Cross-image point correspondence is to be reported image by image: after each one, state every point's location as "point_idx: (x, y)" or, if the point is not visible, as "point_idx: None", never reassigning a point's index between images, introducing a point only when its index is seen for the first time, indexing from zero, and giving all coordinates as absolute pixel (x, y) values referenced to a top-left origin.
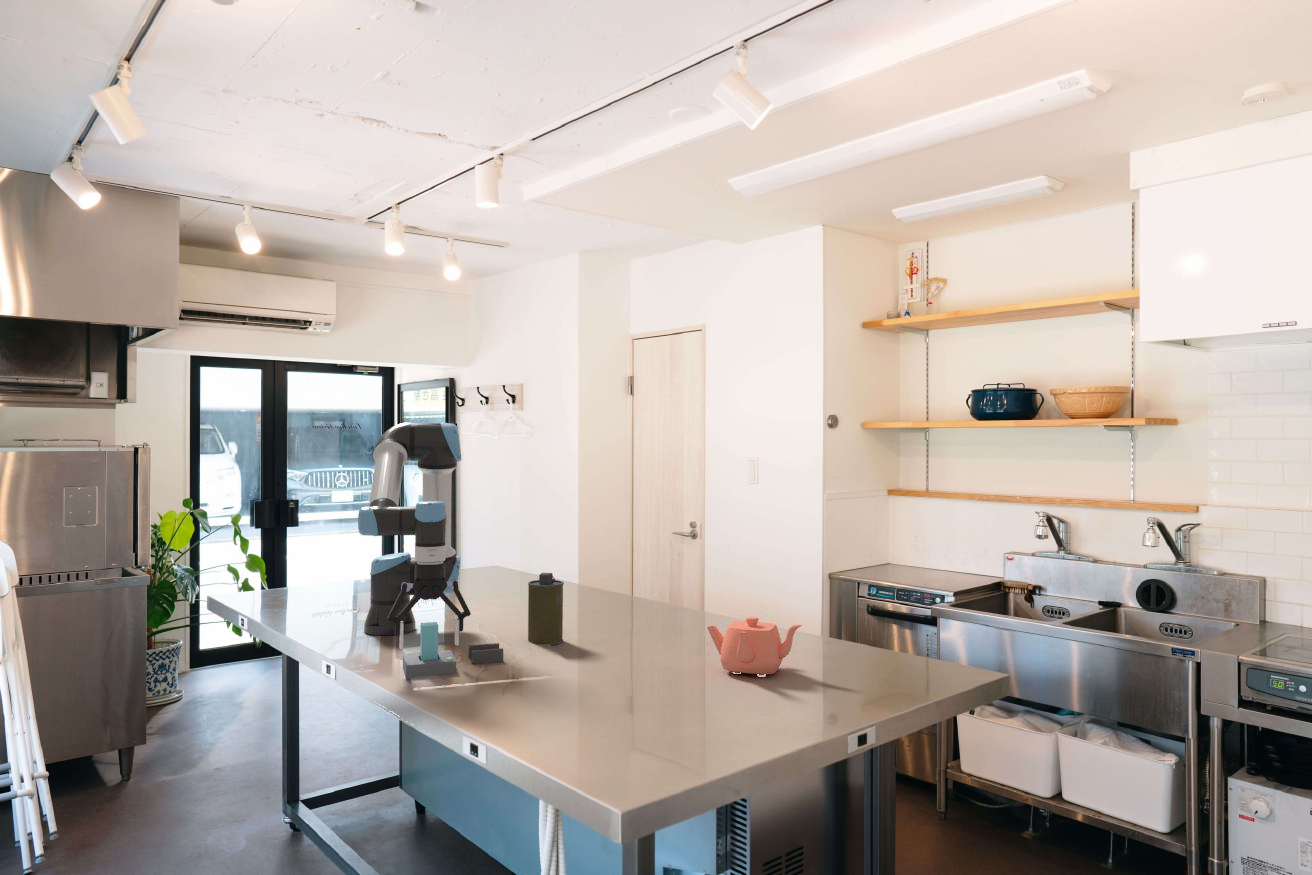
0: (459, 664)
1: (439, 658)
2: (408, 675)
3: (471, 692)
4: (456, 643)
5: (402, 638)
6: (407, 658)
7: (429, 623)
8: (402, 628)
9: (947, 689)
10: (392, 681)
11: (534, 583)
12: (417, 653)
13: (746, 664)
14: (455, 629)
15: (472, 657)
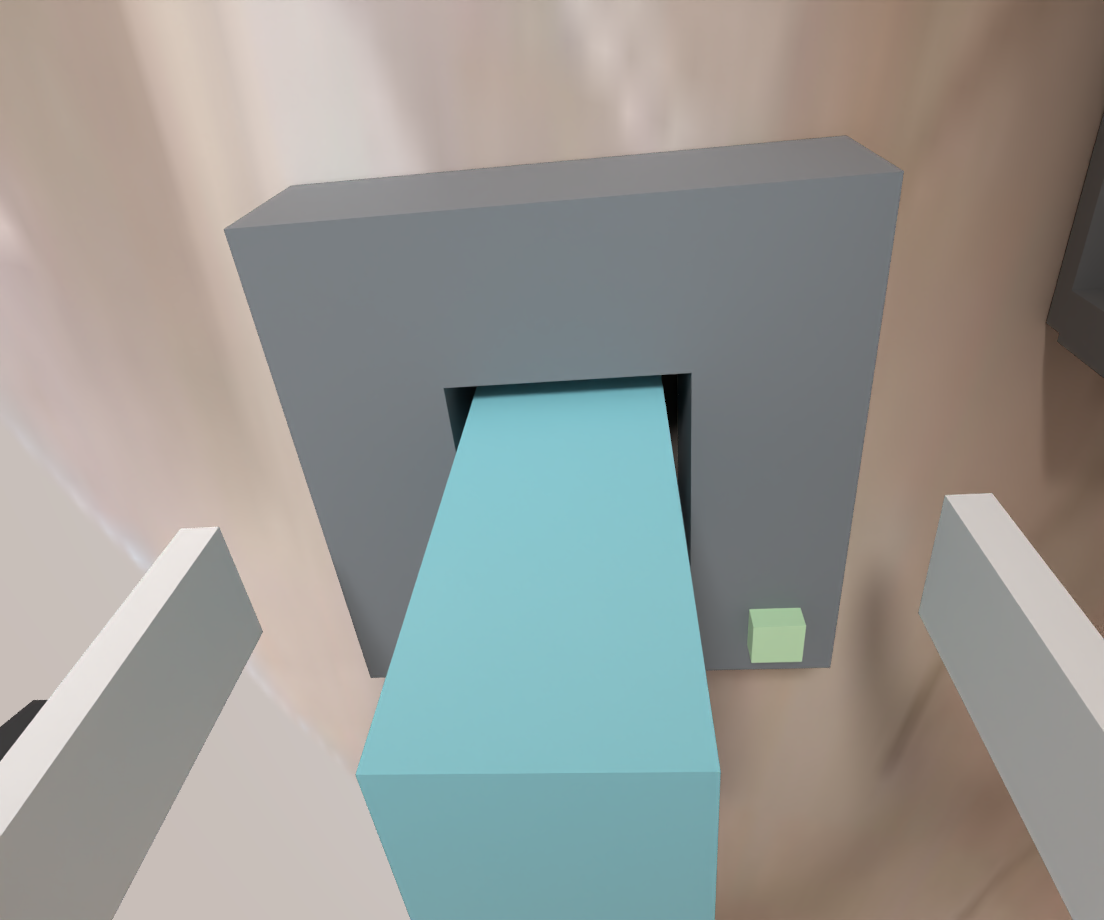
0: (937, 208)
1: (689, 483)
2: None
3: (808, 867)
4: (936, 629)
5: (192, 745)
6: (335, 465)
7: (553, 841)
8: (111, 893)
9: None
10: (305, 600)
11: None
12: (420, 258)
13: None
14: (1030, 757)
15: (1099, 371)
